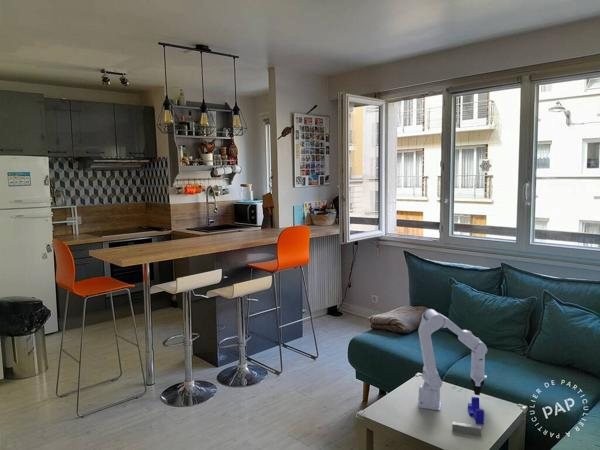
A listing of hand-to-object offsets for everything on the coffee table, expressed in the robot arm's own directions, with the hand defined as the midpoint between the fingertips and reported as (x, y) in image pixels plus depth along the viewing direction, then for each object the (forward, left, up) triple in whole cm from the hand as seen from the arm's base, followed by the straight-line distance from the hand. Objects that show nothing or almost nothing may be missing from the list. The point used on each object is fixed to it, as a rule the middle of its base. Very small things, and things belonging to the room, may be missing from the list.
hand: (477, 394), depth 209 cm
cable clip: (-1, -12, -5) cm, 13 cm away
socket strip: (-5, -26, -4) cm, 27 cm away
